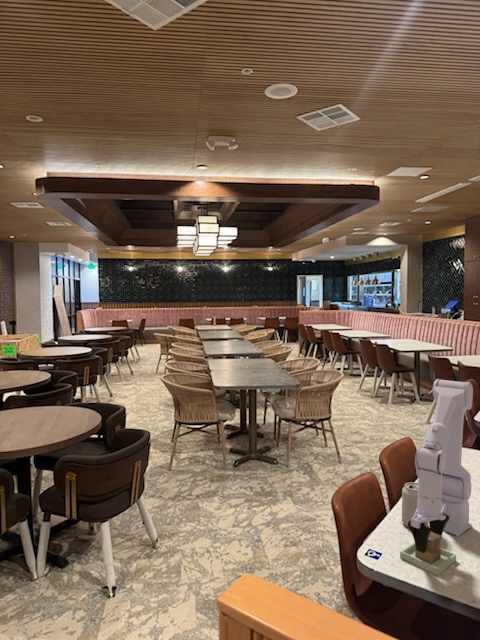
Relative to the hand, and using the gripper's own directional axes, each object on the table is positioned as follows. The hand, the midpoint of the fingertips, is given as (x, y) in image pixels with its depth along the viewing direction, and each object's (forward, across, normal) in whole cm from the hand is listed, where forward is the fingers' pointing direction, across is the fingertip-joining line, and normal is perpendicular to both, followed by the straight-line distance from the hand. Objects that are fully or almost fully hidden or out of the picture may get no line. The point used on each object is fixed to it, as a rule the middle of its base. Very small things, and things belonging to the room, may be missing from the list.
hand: (428, 546), depth 118 cm
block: (+3, 0, 0) cm, 3 cm away
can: (+4, +14, +12) cm, 19 cm away
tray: (+3, 0, 0) cm, 3 cm away
